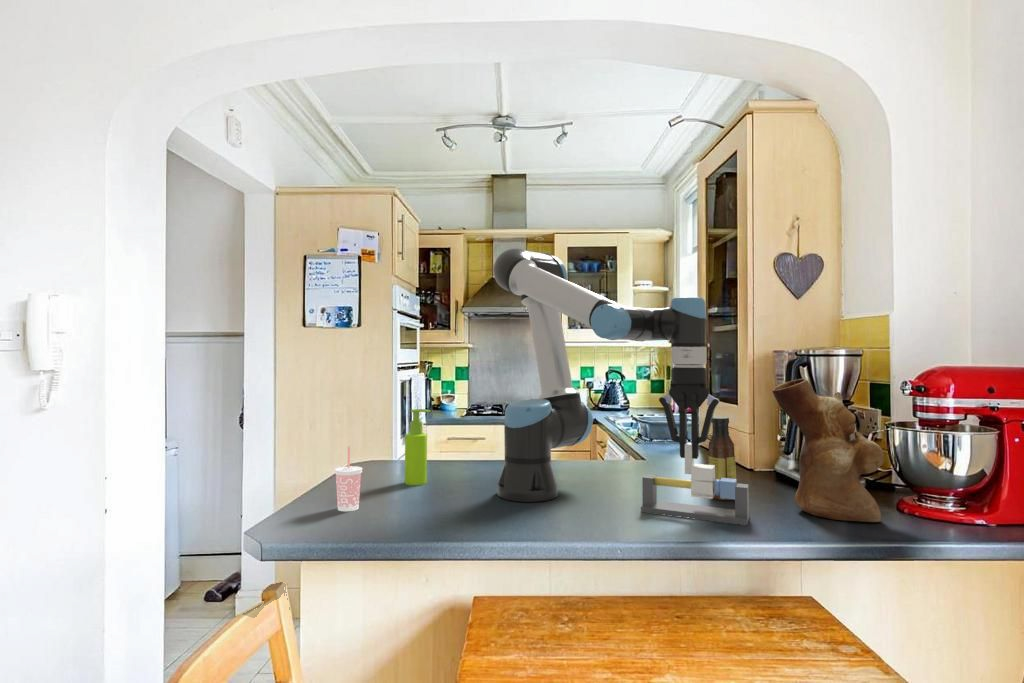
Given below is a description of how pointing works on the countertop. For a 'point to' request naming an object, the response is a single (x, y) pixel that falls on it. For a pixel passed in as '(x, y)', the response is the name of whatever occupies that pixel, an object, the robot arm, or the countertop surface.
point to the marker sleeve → (702, 480)
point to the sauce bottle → (722, 451)
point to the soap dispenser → (416, 452)
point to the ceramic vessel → (830, 455)
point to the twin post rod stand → (721, 488)
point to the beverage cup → (348, 486)
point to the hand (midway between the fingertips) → (689, 472)
